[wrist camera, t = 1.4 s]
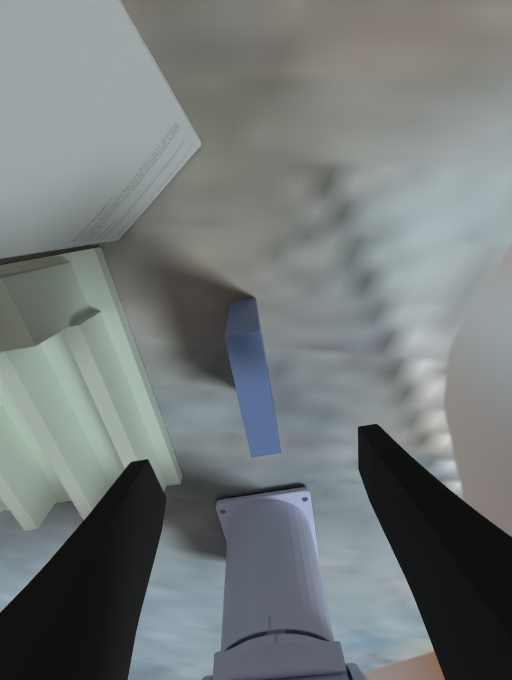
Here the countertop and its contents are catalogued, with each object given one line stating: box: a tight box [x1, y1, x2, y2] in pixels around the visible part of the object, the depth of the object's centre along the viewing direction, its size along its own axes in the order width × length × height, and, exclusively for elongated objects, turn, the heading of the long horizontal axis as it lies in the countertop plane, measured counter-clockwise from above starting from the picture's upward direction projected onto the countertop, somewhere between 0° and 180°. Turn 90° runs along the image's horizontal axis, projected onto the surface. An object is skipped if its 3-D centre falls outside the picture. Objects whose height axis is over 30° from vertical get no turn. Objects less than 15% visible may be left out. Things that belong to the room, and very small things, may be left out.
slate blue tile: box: [224, 298, 281, 457], centre depth 17 cm, size 7×2×6 cm, turn 10°
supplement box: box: [0, 0, 201, 259], centre depth 9 cm, size 7×7×13 cm
